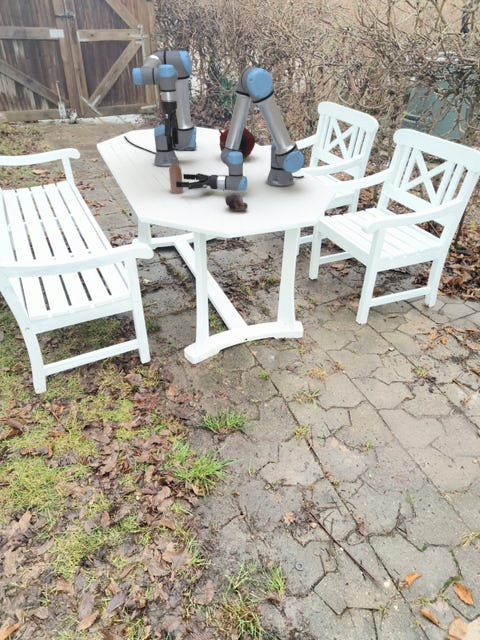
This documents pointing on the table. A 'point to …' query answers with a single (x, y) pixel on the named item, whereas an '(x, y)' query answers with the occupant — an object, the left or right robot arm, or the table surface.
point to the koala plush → (186, 148)
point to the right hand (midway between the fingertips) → (180, 180)
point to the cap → (174, 159)
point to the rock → (235, 202)
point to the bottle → (175, 178)
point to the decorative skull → (245, 144)
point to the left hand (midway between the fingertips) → (173, 146)
